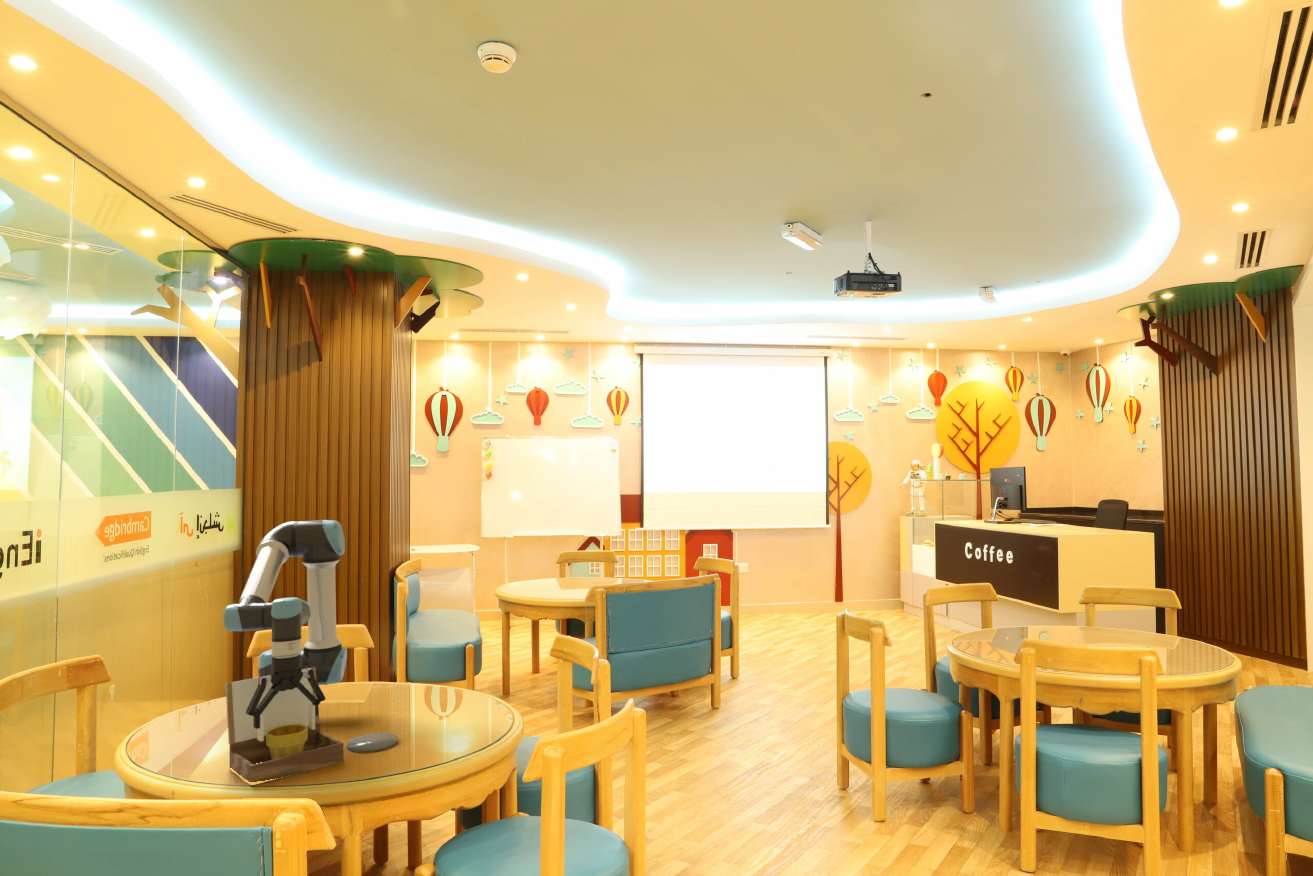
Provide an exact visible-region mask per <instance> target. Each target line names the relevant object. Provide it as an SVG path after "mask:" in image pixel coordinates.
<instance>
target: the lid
mask: <svg viewBox="0 0 1313 876" xmlns="http://www.w3.org/2000/svg"><path fill="white" fill-rule="evenodd" d="M307 669H311V670H313V671H314V678H315V680H316V667H312V668H307ZM305 670H306V669H302V671H305ZM263 677H271V675H268V676H263ZM259 678H260V677H254V678H248V679H241V680H238V681H236V680H235V681H231V682H226V683H225V694H226V695H225V698H226V699H225V701H226V715H227V720H226V721H227V737H228V738H227V739H228V745H230V744H232V743H236V742H241V741H245V740H249V739H254V738H257V729H255V728H254V726H253V723H254V722H253V716H250V715H248V714H246V710H247V708H248V706H249V704H250V702H251V699H252V697H253V695H254V693H255V691H256V689H257V687H258V682H259ZM300 682H301V683H302V684H303V685H304V687H305V688H306V689H307V690H308V691H309V692H310V693H311V694H312V695H313V696H314V697H315V698H317V696H316V694H315V692H314V691H313V689H312V687H311V685H310V683H309V681H308V680H307V678H305V677H304V676H303V677H302V679H301V680H300ZM272 685H273V684H272V683H271V682H269V683H268V685H267V686H266V688H265V690H264V692H263V694H262V697H261V699H260V701H259V703H260V702H261V701H262V700H263V698H264V697H265V696H266V694H267V693H268V692H269V689H270V688H271V686H272ZM259 703H258V705H259ZM309 704H312V702H311V701H310V700H309V699H308V698H307V697H306V696H305V695H304V694H302V693H301V692H300V691H299V690H298V689H297V688H296V687H295V688H294V689H292V690H286V691H279V692H278V693H277V694H276V695H275V696H274V697H273V699H272V700H271V702H270V703H269V704H268V706H267V707H266V708H265V710H264V711H263V712H262V714H261V715H263V716H264V736H266V733H267V731H269V730H270V729H272V728H275V727H279V726H283V725H290V724H302V725H306V726H309ZM258 705H257V706H258ZM319 710H320V709H319V707H318V716H315V724H321V723H320V711H319Z"/></svg>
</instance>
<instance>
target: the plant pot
mask: <svg viewBox="0 0 1313 876" xmlns="http://www.w3.org/2000/svg"><path fill="white" fill-rule="evenodd" d="M307 738H308V727H307V726H306V725H302V724H290V725H283V726H279V727H275V728H272V729H270V730H269V731H267V733H266V745H267V746H268V747H269V749H270V754H271V758H272V760H273V759H277V758H281V757H285V756H289V755H293V754H297V753H301V752H303V749H304V744H305V741H307Z"/></svg>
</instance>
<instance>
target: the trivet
mask: <svg viewBox="0 0 1313 876" xmlns="http://www.w3.org/2000/svg"><path fill="white" fill-rule="evenodd" d="M396 743H397V744H398V735H397V734H394V733H391V732H372V733H365V734H361V735H357V736H355V737H352V738H351V739H349V740H348V741H347V743H346V749H347V751H349V752H353V753H373V752H379V751H384V750H387V749H389V748H392V747H394V746H396V745H397V744H396Z"/></svg>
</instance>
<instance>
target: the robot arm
mask: <svg viewBox="0 0 1313 876" xmlns="http://www.w3.org/2000/svg"><path fill="white" fill-rule="evenodd" d="M345 546H346V539H345V535H344V531H343V527H342V524H341V523H340V522H339V521H338V520H333V519H331V520H330V519H317V520H315V519H314V520H298V521H296V520H295V521H293V520H292V521H285V522H284V523H282V524H279V525H277V526H276V527H274V528H272V529H271V530H270V531H269V532H267V533H266V535H265V536H264V537H262V539H261V540H260V542H259V543H258V545H257V548H256V551H255V555H256V559H255V560H254V561H255V562H254V564H253V565H252V568H251V571H250V574H249V576H248V578H247V581H246V583H245V586H244V588H243V590H242V592H241V595H240V598H239V600H238V603H233V604H229V605H227V606H226V607H225V609H224V610H223V618H222V619H223V626H224V628H225V630H226V631H228V632H247V631H261V630H271V649H268V650H266V651H263V652H262V653H261V654H260V655H259V656H258V667H257V669H258V671H257V672H258V677H260V678H259V682H258V687H257V689H256V691H255V693H254V695H253V697H252V699H251V702H250V704H249V706H248V708H247V710H246V714H248V715H250V716H253V722H254V723H253V726H254V728H255V729H257V740H259V741H264V716H263V715H261V714H262V712H263V711H264V710H265V708H266V707H267V706H268V704H269V703H270V702H271V700H272V699H273V697H274V696H275V695H276V694H277V693H278V692H279V691H286V690H292V689H294V688H295V687H296V688H297V689H298V690H299V691H300V692H301V693H302V694H304V695H305V696H306V697H307V698H308V699H309V700H310V701H311V702H312V704H309V728H310V729H312V730H314V729H315V716H318V708H319V705H320V704H321V702H325V700H326V696H325V695H324V692H323V690H322V689H321V687H320V686H328V685H333V684H338V683H340V682H341V681H342V680H343V678H344V674H345V670H346V666H347V659H348V648H347V647H345V646H342V640H341V639H340V638H338V636H337V604H336V603H337V598H336V597H337V596H336V565H337V564H338V563H339V562H340V561H341V558H340V557H341V556H344V554H345V552H346V547H345ZM294 557H295V558H301V563H302V564H303V565H304V566H305V567H306V575H307V576H306V578H307V579H306V581H307V582H306V583H307V601H306V600H303V599H301V598H298V597H296V596H295V597H282V598H280V597H279V598H276V599H273V600H272V602H269V600H270V597H271V595H272V592H273V589H274V586H275V583H276V581H277V579H278V576H279V575H280V574H279V573H280V570H281V569H282V566H283V564H284V563H286V562H287V561H288V558H294ZM306 624H307V626H308V627H307V628H308V629H307V631H308V639H307V641H306V642H305V643H304V644H303V649H302V627H303V626H304V625H306ZM312 667H316V680H315V678H314V671H313V670H311V669H307V668H312ZM302 669H306V670H305V671H302ZM268 675H271V677H263V676H268ZM303 676H304V677H305V678H307V680H308V681H309V683H310V685H311V687H312V689H313V691H314V692H315V694H316V696H317V698H315V697H314V696H313V695H312V694H311V693H310V692H309V691H308V690H307V689H306V688H305V687H304V685H303V684H302V683H301V682H300V680H301V679H302V677H303ZM269 682H271V683H272V684H273V685H272V686H271V688H270V689H269V692H268V693H267V694H266V696H265V697H264V698H263V700H262V701H261V702H260V703H259V701H260V699H261V697H262V694H263V692H264V690H265V688H266V686H267V685H268V683H269ZM258 703H259V705H258ZM257 705H258V706H257Z"/></svg>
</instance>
